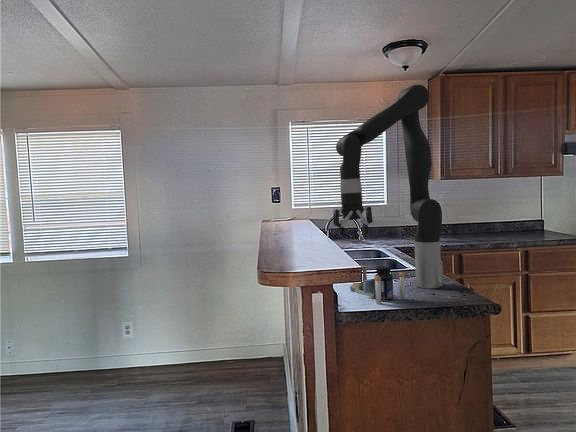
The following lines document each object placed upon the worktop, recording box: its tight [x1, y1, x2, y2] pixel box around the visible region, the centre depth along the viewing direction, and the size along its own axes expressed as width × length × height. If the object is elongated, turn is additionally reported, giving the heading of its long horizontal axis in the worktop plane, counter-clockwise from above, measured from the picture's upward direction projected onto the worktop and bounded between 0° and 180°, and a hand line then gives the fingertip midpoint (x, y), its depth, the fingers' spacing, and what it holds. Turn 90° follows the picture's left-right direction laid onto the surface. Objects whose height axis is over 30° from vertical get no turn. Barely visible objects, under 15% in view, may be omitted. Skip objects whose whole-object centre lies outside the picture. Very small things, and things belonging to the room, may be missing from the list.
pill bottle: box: [374, 266, 395, 302], centre depth 154 cm, size 6×6×11 cm
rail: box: [349, 285, 376, 299], centre depth 164 cm, size 4×14×2 cm, turn 25°
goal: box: [374, 271, 406, 305], centre depth 151 cm, size 12×2×9 cm, turn 115°
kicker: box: [351, 264, 375, 293], centre depth 164 cm, size 8×11×8 cm
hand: (353, 236), depth 163 cm, fingers open, 8 cm apart
